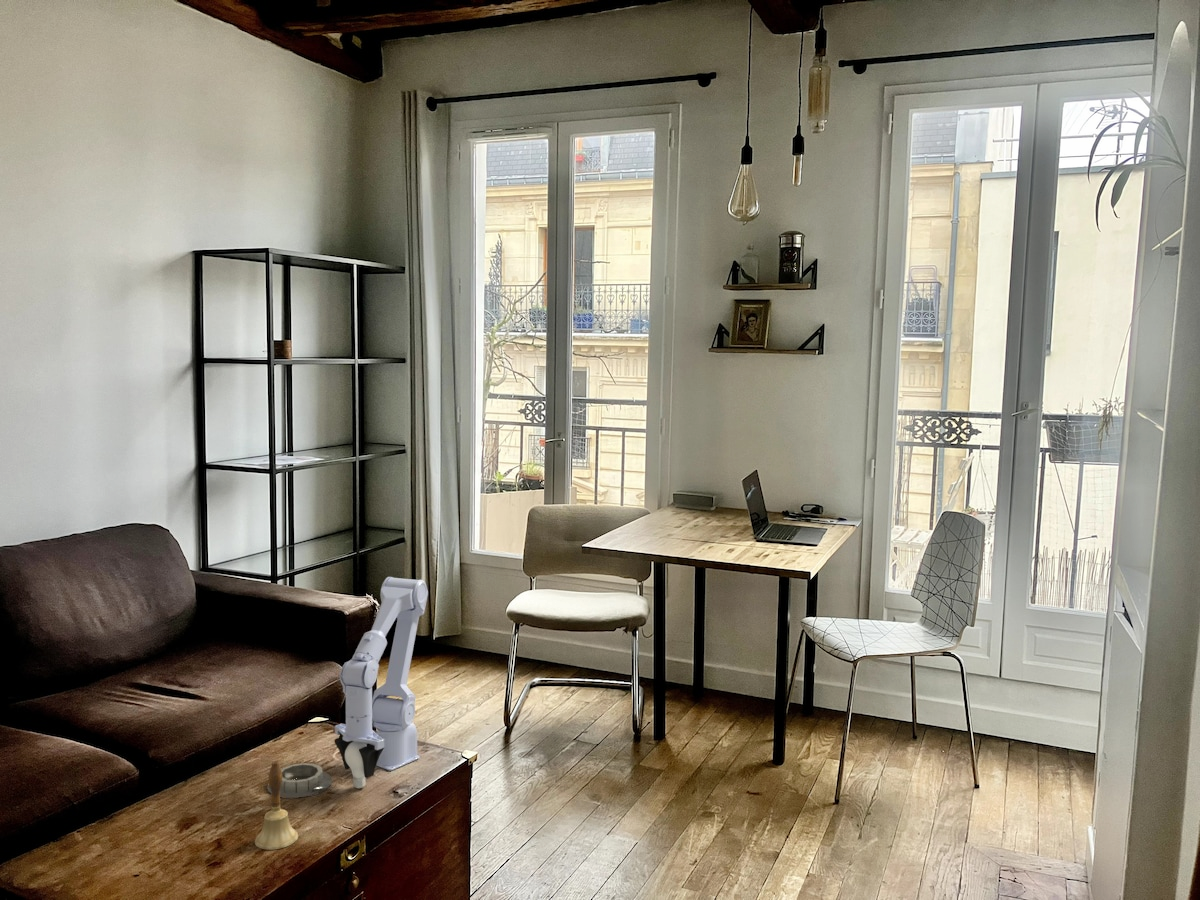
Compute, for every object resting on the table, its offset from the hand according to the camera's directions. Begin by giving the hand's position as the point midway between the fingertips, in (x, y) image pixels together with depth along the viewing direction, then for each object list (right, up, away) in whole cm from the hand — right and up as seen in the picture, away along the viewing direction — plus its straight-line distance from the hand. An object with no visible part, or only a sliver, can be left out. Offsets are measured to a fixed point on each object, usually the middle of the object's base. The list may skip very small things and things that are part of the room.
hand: (359, 771), depth 210 cm
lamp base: (-14, -3, +2) cm, 14 cm away
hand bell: (-11, -6, -23) cm, 26 cm away
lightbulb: (0, -4, 0) cm, 4 cm away
